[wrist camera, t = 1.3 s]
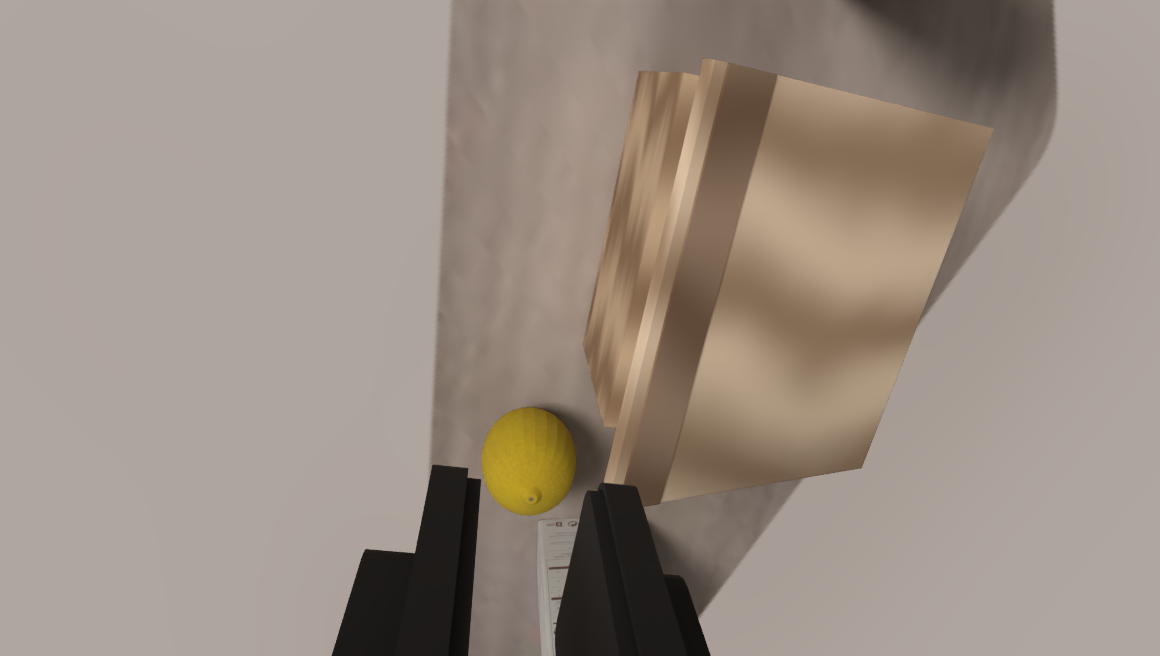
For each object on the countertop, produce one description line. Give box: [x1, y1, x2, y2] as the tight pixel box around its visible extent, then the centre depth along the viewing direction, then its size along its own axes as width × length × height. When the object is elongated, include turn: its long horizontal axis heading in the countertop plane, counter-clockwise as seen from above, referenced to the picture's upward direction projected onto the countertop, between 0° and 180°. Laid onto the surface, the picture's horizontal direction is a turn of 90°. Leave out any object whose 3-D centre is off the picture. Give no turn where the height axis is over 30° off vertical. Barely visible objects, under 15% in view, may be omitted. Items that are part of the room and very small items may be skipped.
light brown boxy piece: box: [583, 71, 699, 428], centre depth 34 cm, size 16×13×10 cm
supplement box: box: [537, 518, 580, 656], centre depth 41 cm, size 7×7×13 cm
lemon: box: [482, 407, 576, 515], centre depth 39 cm, size 6×6×8 cm
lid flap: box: [604, 58, 994, 507], centre depth 27 cm, size 17×15×1 cm
